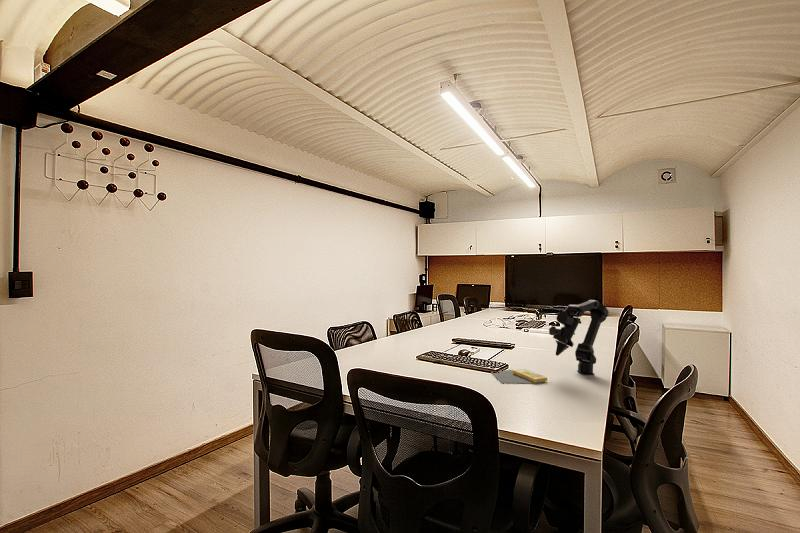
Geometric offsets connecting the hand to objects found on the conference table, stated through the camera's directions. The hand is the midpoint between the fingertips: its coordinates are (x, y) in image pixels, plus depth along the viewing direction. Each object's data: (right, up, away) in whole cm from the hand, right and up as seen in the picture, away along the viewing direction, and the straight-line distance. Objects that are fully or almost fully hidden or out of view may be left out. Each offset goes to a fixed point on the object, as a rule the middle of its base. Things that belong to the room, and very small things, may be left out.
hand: (556, 355), depth 201 cm
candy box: (-11, -10, -1) cm, 15 cm away
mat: (-22, -11, -1) cm, 25 cm away
